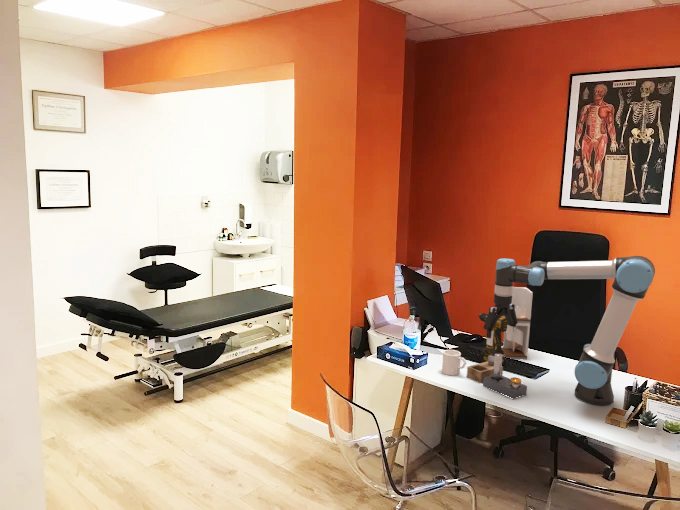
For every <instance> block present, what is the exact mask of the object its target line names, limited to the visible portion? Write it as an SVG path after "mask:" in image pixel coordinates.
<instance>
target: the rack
mask: <svg viewBox="0 0 680 510" xmlns="http://www.w3.org/2000/svg"><path fill="white" fill-rule="evenodd" d="M494 358H495V356H491V355H490V356H488V361H487V362H480V363H476V364H473V365H470V366H467V370H466V378H469V379H470V380H473V381H475V382H477V383H479V384H481V383H483V380H484V377H487V376H491V375H493V371H494ZM503 372H504V366H501V375H502V376H504V375H503V374H504V373H503Z"/></svg>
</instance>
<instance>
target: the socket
mask: <svg viewBox="0 0 680 510" xmlns="http://www.w3.org/2000/svg"><path fill="white" fill-rule="evenodd" d="M510 379H511V378H509V377H506V376H505V375H501V379H500V380H499V381H496V380H494V379H493V375H491V376H487V377H484V380H483V382H482V383H483V384H482V387H484V388H486V387H487V389H488V388H490V389H489V390H491V389H492V390H491V391H493V390H494V391H493V392H495V391H497V392H499V393H502V394H504V395H507V396H509V397H511V398H515V399H517V398H516V397H518V398H520V397H519V396H521V397H523V396H522V395H524V396H526V395H527V392H528V391H527V390H528V389H527V388H528V386H527V385H525V384H523V383H522V382H521V383H520V384H519V388H514V387H512V382H511V381H510ZM497 392H496V393H497ZM499 393H498V394H499ZM502 394H501V395H502ZM504 395H503V396H504Z"/></svg>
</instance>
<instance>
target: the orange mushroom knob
mask: <svg viewBox="0 0 680 510" xmlns="http://www.w3.org/2000/svg"><path fill="white" fill-rule="evenodd" d="M509 379H510V381H511V382H512V387H514V388H519V384H520V383H521V384H522V379H521V378H519V377H511V378H509Z"/></svg>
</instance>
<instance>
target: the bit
mask: <svg viewBox="0 0 680 510" xmlns="http://www.w3.org/2000/svg"><path fill="white" fill-rule="evenodd" d="M501 366H502V354H500V353H495V358H494V371H493V379H494V380H496V381H499V380H500V379H501Z"/></svg>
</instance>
